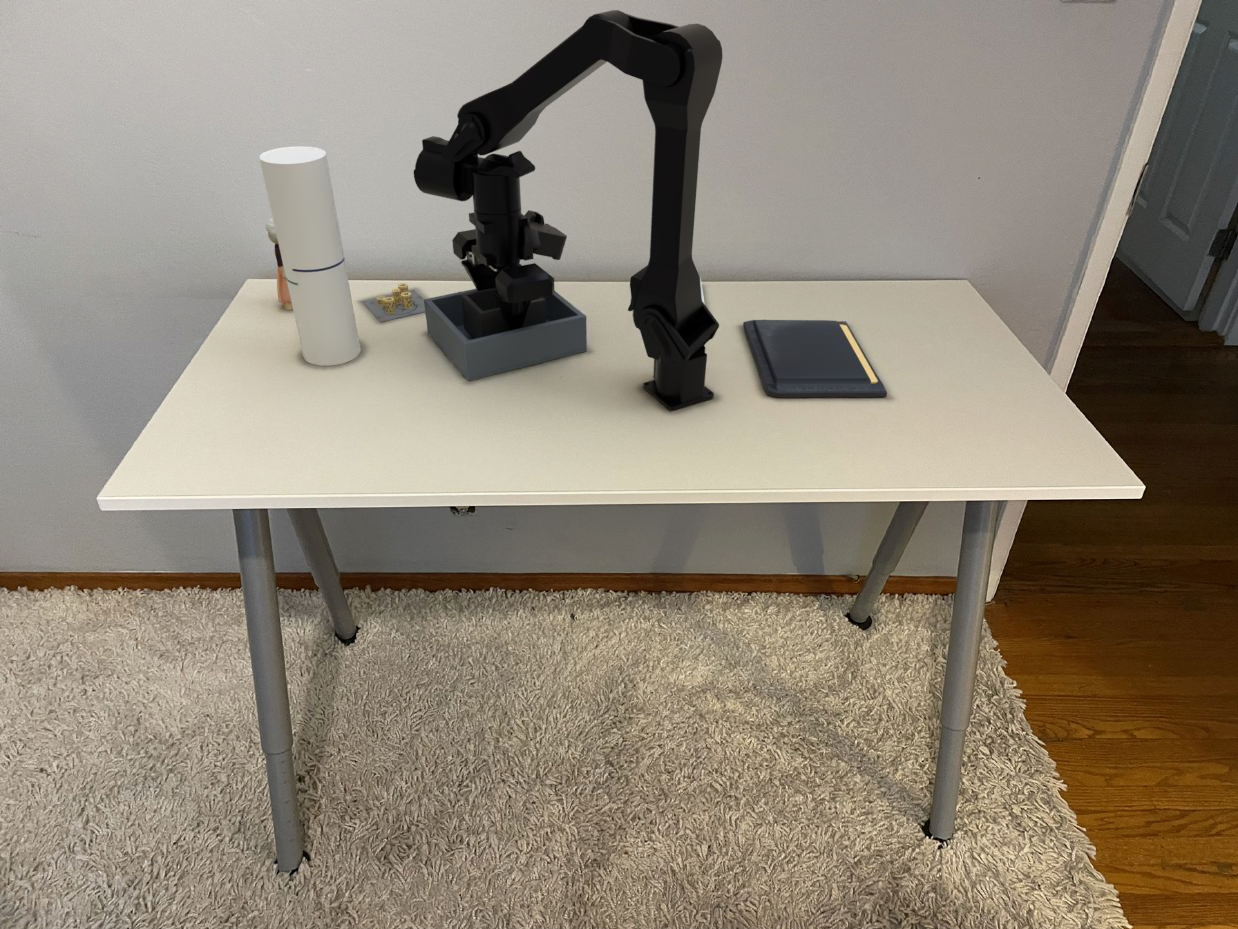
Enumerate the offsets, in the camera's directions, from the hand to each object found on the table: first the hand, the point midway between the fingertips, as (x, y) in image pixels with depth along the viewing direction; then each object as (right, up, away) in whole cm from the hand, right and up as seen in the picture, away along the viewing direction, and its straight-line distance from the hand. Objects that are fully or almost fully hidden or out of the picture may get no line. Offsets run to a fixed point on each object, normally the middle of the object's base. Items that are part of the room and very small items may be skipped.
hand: (505, 324), depth 111 cm
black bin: (0, -1, +1) cm, 1 cm away
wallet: (+40, -5, -1) cm, 40 cm away
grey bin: (0, -2, +2) cm, 3 cm away
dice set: (-17, +4, +10) cm, 20 cm away
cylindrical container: (-22, -4, -2) cm, 23 cm away
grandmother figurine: (-32, +4, +10) cm, 33 cm away
